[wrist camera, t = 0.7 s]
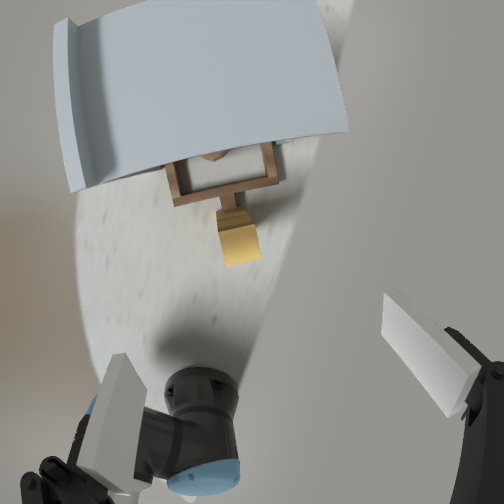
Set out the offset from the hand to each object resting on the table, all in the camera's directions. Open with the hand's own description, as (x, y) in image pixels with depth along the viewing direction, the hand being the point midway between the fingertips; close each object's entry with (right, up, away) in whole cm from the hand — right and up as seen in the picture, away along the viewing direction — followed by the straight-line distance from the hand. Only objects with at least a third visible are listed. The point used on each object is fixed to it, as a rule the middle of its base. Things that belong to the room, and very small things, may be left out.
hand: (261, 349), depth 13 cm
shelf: (-6, +24, +24) cm, 34 cm away
